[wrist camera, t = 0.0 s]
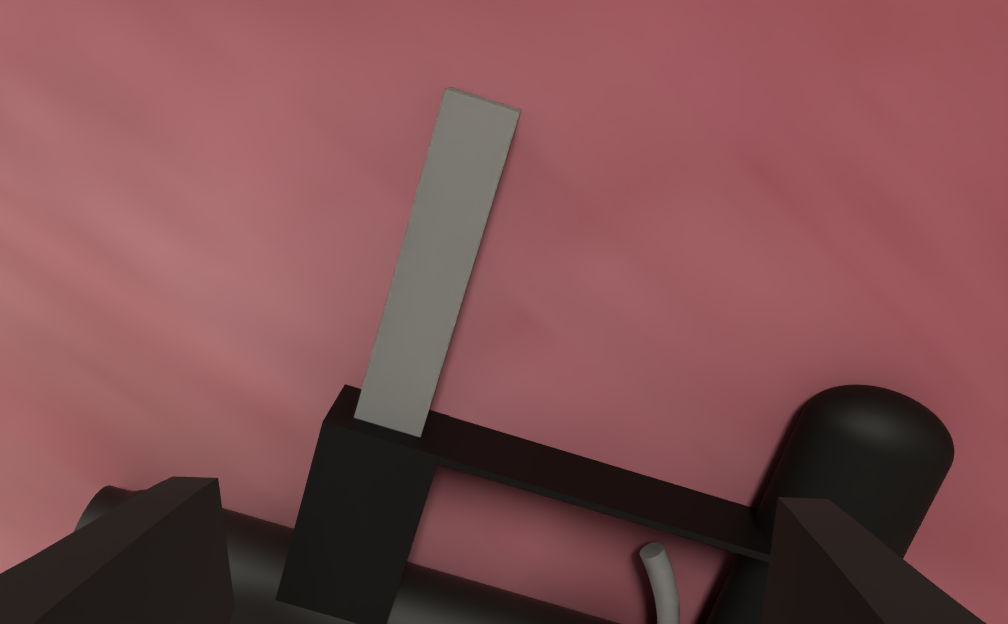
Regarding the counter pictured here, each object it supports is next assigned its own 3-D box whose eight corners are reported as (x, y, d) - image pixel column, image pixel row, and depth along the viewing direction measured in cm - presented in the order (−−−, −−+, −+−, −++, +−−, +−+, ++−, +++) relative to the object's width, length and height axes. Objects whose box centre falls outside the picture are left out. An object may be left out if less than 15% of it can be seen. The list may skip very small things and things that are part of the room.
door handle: (156, -1, 17) (43, 648, 21) (1090, 297, 18) (789, 858, 22) (216, 8, 20) (107, 572, 24) (1006, 260, 21) (757, 758, 25)
